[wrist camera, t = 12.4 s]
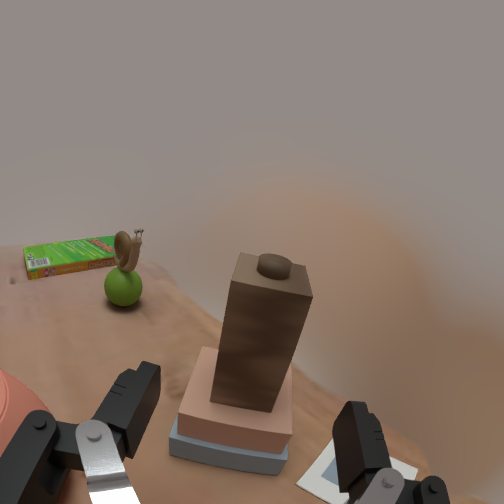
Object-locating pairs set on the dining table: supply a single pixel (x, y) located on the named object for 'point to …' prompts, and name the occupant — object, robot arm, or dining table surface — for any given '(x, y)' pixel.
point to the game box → (69, 256)
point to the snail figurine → (124, 271)
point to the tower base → (230, 426)
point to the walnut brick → (260, 330)
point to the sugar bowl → (14, 406)
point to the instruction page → (326, 478)
